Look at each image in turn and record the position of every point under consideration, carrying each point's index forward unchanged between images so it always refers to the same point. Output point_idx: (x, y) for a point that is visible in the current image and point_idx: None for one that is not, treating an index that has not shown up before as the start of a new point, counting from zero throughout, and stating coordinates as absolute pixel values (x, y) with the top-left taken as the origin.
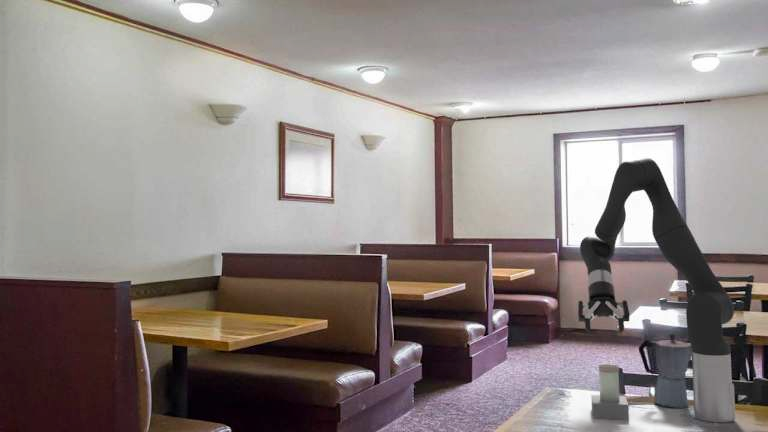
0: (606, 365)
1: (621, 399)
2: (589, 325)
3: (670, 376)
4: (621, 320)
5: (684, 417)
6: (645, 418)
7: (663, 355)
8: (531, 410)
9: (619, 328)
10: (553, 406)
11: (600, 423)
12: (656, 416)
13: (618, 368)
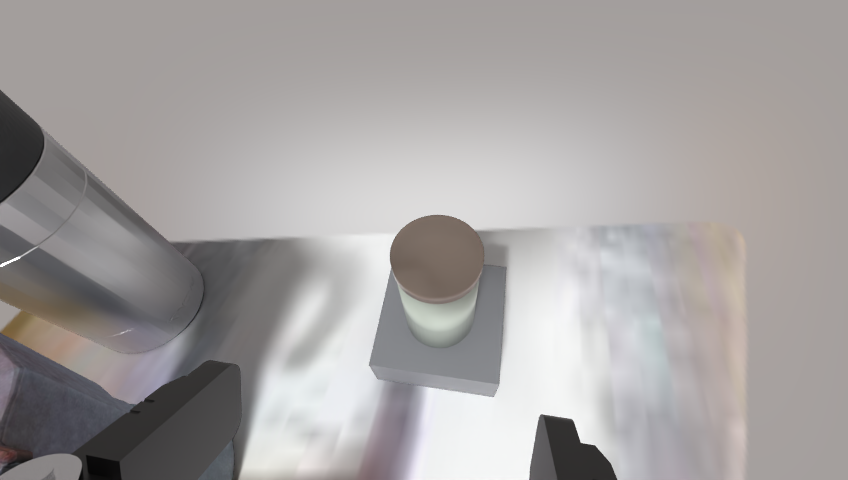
0: (441, 274)
1: (397, 316)
2: (560, 444)
3: (122, 402)
4: (93, 460)
5: (229, 307)
6: (346, 294)
7: (66, 381)
8: (717, 378)
9: (231, 365)
10: (642, 440)
11: (485, 245)
12: (305, 315)
13: (395, 240)
